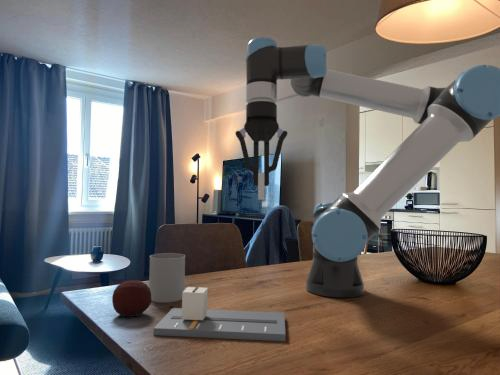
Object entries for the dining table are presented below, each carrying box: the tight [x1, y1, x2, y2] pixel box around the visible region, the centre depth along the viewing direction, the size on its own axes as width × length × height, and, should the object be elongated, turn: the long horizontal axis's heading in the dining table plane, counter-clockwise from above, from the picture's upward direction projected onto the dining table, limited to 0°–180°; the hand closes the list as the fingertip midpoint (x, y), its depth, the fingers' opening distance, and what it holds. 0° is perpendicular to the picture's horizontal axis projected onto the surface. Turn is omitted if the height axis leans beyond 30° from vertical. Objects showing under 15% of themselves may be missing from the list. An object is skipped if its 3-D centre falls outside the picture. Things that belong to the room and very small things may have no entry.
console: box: [153, 307, 287, 342], centre depth 69 cm, size 23×12×1 cm, turn 86°
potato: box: [111, 279, 152, 317], centre depth 75 cm, size 7×8×7 cm
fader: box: [181, 286, 209, 320], centre depth 70 cm, size 4×4×5 cm
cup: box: [148, 252, 186, 303], centre depth 89 cm, size 8×8×10 cm
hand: (261, 199), depth 89 cm, fingers closed
